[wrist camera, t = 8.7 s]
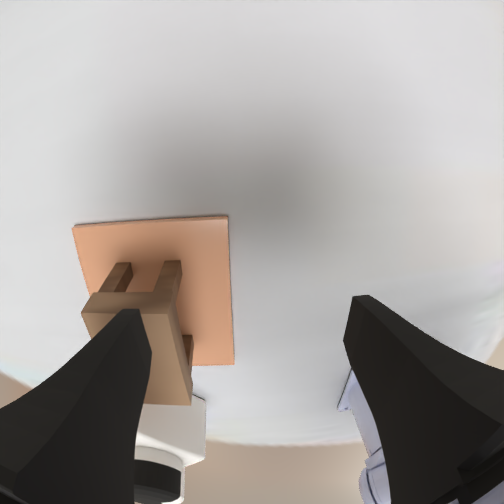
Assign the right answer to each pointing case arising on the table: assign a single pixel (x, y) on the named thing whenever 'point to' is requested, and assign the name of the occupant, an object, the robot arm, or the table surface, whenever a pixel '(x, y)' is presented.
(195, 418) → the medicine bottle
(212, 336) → the terracotta tile
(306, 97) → the table surface
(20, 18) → the table surface
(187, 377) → the brown slotted block
